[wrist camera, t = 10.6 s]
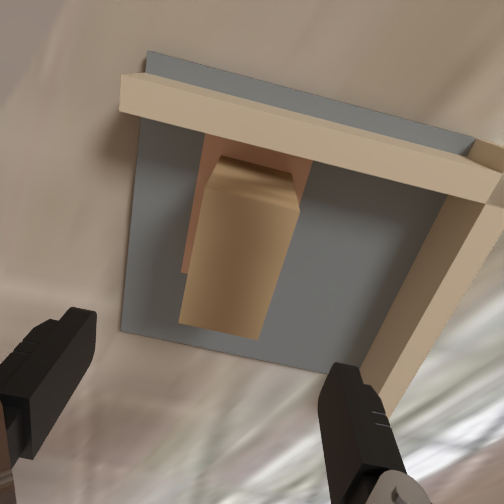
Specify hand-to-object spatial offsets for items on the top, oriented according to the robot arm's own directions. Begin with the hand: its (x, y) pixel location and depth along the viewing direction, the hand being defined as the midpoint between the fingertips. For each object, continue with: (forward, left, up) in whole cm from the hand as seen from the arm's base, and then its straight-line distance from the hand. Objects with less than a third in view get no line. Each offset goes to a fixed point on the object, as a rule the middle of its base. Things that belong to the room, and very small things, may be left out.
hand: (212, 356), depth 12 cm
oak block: (0, 0, -11) cm, 11 cm away
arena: (-1, -3, -12) cm, 12 cm away
